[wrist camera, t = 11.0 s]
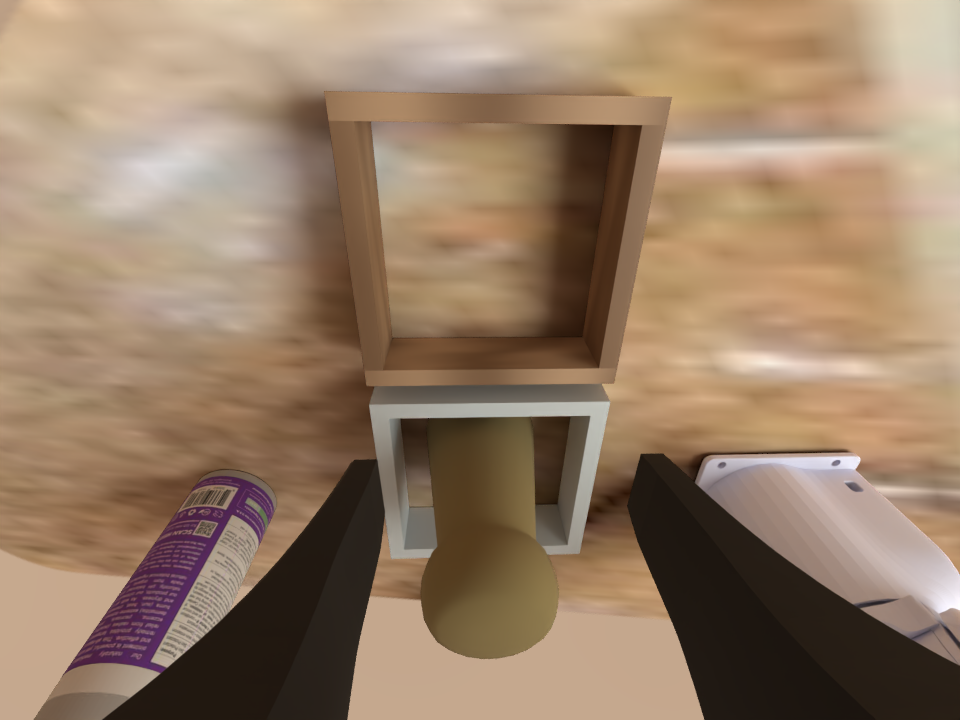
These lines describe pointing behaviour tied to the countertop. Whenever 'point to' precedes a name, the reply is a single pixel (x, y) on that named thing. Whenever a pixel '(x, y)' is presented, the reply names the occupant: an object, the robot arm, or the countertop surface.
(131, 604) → the container
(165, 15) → the countertop surface
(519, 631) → the olive rounded piece
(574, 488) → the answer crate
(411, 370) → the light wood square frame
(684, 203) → the countertop surface
